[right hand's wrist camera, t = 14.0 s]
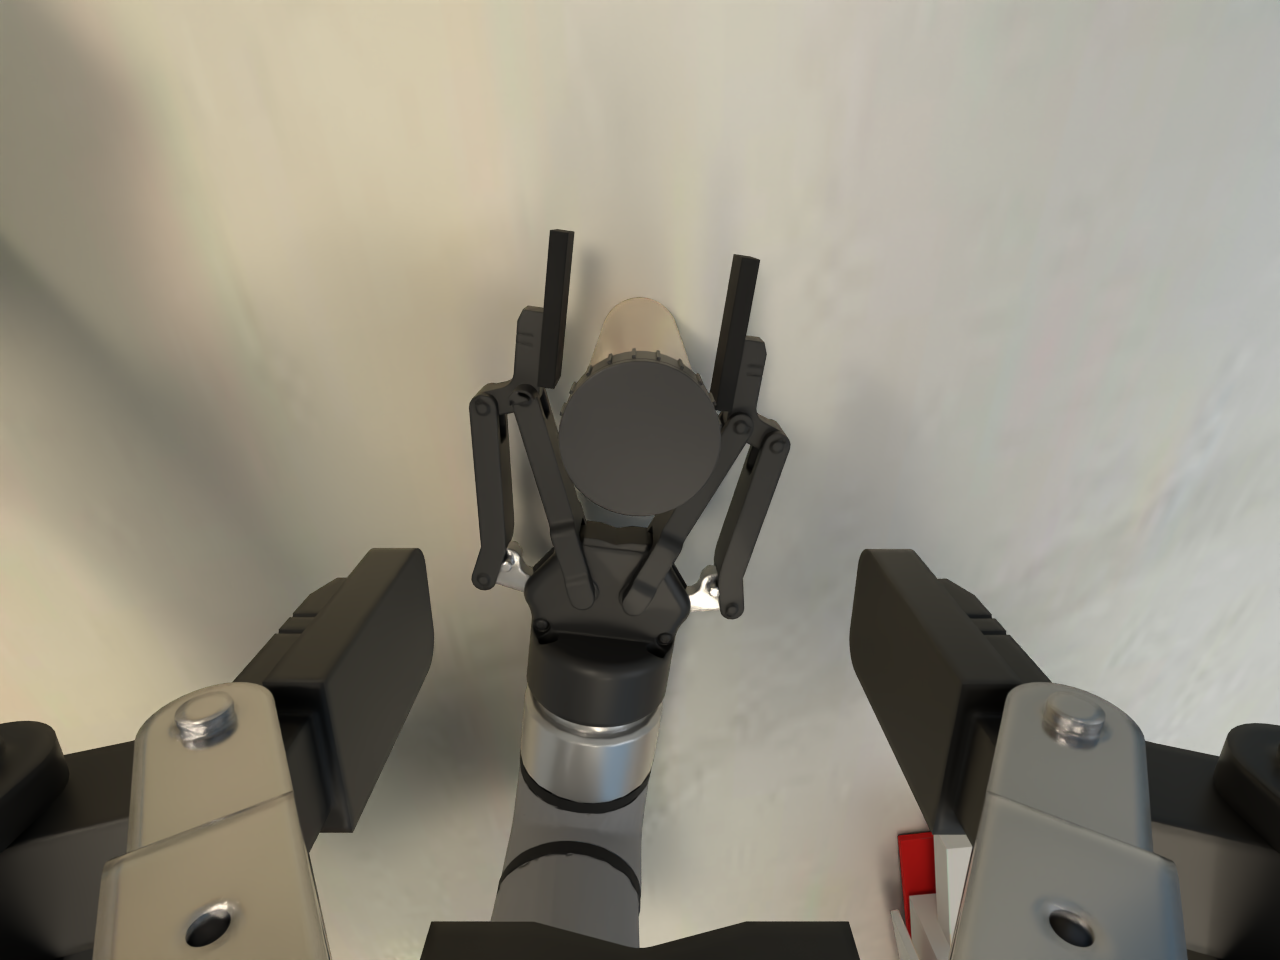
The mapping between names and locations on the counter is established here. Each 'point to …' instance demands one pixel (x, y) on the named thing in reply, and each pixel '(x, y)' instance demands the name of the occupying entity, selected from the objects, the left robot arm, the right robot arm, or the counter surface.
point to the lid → (639, 433)
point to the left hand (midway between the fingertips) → (655, 244)
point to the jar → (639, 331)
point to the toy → (930, 893)
